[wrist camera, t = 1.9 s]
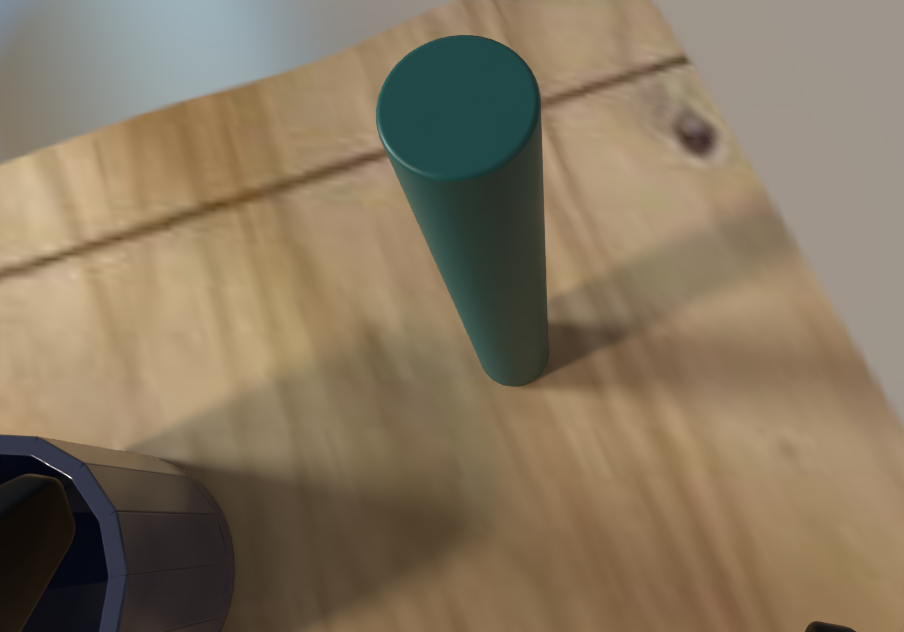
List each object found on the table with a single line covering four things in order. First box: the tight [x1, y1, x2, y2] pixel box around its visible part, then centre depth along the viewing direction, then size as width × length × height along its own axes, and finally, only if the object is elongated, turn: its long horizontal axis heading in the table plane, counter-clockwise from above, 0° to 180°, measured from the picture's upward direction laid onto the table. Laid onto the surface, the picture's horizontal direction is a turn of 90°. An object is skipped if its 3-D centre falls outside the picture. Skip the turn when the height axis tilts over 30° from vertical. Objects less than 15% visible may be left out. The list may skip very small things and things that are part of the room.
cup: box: [0, 434, 234, 632], centre depth 18 cm, size 7×7×6 cm
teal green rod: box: [376, 35, 549, 386], centre depth 15 cm, size 2×2×13 cm
